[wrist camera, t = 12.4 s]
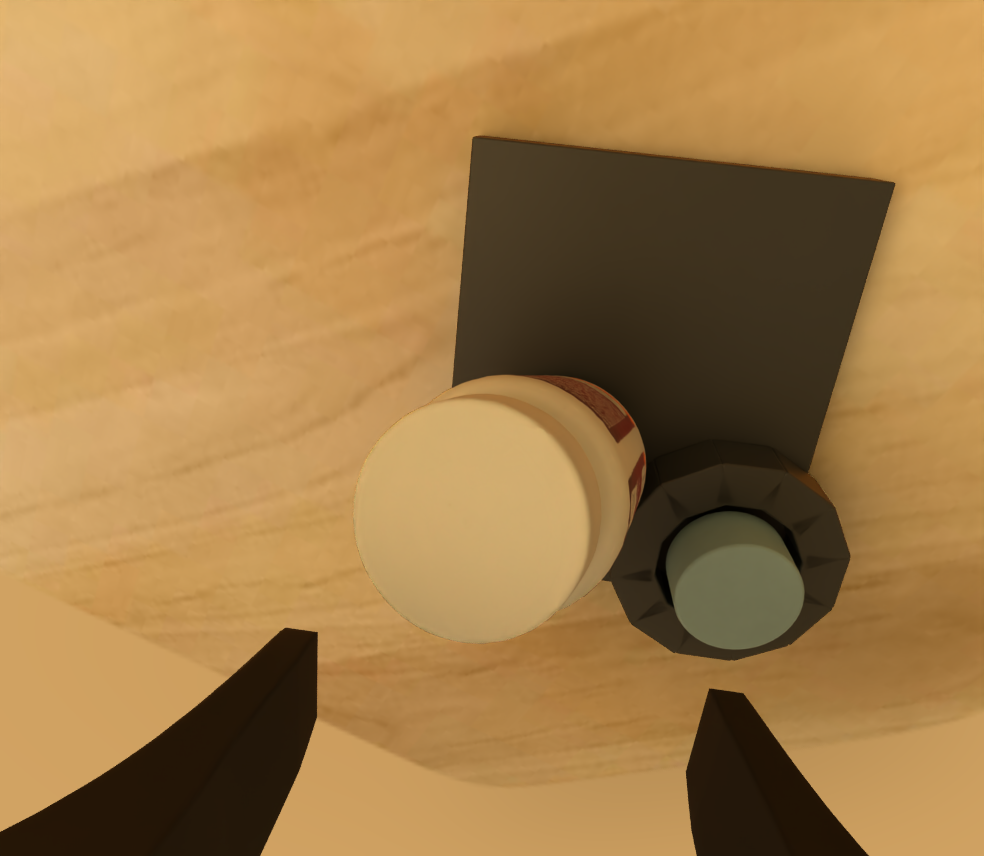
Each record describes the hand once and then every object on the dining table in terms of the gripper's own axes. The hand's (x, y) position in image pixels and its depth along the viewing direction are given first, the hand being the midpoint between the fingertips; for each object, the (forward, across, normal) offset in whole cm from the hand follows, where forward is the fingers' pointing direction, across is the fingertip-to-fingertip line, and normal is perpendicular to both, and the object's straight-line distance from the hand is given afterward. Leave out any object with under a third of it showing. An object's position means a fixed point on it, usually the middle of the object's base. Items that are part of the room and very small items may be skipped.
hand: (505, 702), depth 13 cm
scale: (+10, -3, -3) cm, 11 cm away
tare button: (+7, -6, +1) cm, 9 cm away
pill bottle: (+8, -1, -1) cm, 8 cm away
